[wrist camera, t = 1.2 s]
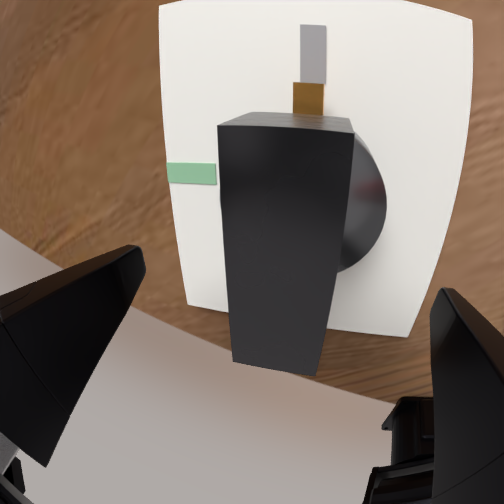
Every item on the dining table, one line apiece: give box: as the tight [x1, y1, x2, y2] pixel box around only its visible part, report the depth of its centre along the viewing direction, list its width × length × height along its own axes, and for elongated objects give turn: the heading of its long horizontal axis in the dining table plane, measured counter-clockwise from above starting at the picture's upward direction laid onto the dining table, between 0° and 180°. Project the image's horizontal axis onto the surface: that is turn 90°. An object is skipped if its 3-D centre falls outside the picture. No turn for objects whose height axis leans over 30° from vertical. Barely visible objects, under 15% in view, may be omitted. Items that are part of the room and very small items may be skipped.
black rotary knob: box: [217, 82, 387, 376], centre depth 11 cm, size 9×7×8 cm
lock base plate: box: [159, 0, 473, 337], centre depth 16 cm, size 20×16×1 cm
